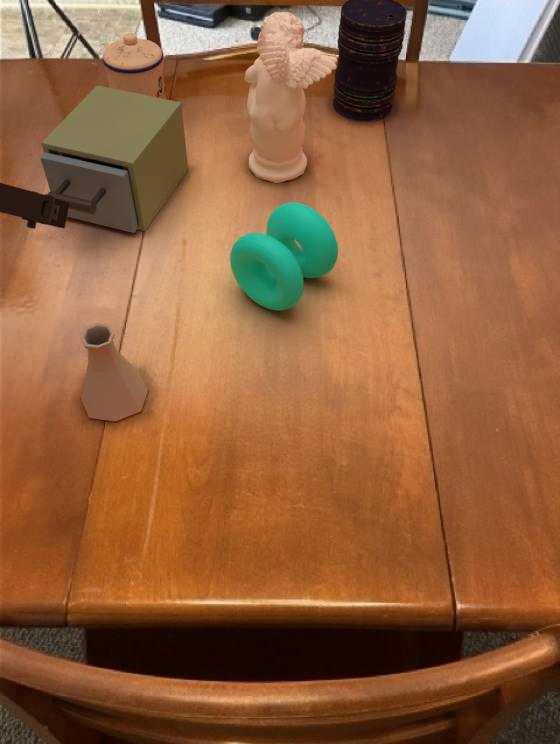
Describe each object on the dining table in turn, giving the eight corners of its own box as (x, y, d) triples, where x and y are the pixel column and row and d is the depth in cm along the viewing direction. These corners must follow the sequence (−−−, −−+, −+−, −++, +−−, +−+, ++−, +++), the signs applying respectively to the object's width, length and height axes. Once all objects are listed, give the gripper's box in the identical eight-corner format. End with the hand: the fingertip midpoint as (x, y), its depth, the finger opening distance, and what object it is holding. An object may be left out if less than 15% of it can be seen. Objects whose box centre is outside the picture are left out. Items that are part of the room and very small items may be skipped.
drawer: (118, 254, 86) (106, 197, 79) (39, 234, 88) (20, 177, 82) (176, 174, 97) (169, 118, 90) (104, 158, 99) (92, 102, 92)
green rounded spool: (226, 291, 84) (222, 228, 76) (276, 248, 89) (277, 185, 81) (291, 328, 80) (294, 266, 72) (339, 282, 85) (346, 218, 77)
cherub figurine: (267, 138, 104) (268, -14, 87) (342, 160, 101) (358, 6, 84) (230, 181, 98) (223, 26, 80) (309, 206, 95) (319, 49, 77)
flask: (150, 418, 72) (136, 358, 64) (80, 427, 71) (57, 367, 63) (147, 366, 76) (133, 304, 69) (81, 373, 76) (60, 311, 68)
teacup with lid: (171, 121, 107) (162, 48, 98) (112, 126, 106) (98, 52, 97) (166, 82, 114) (157, 10, 105) (111, 86, 113) (97, 14, 104)
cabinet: (145, 231, 91) (132, 163, 82) (61, 211, 93) (41, 142, 85) (188, 169, 99) (181, 102, 91) (110, 152, 102) (96, 85, 93)
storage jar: (320, 108, 110) (327, 13, 98) (351, 83, 115) (361, -11, 103) (373, 129, 107) (387, 33, 95) (403, 102, 112) (420, 7, 100)
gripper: (-306, 172, 53) (-101, 211, 74) (-30, 243, 49) (106, 263, 69) (-295, 74, 52) (-90, 141, 73) (-12, 137, 48) (121, 190, 68)
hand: (6, 201), depth 71 cm, fingers open, 13 cm apart
